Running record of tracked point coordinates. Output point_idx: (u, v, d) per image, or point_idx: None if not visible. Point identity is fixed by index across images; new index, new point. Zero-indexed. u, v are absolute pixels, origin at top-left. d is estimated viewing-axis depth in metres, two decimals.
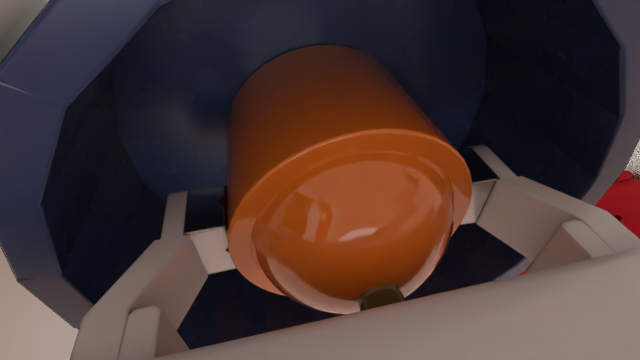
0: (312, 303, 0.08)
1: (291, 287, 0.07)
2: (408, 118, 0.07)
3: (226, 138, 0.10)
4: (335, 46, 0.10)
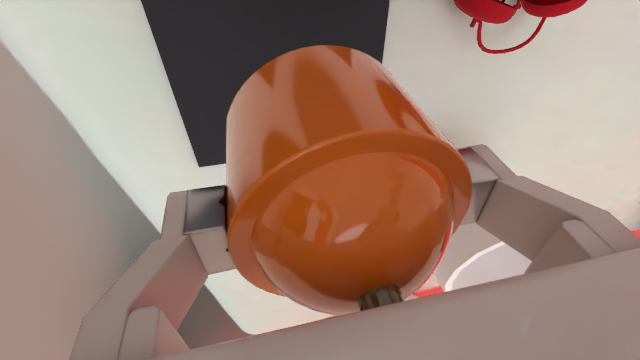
0: (312, 304, 0.08)
1: (291, 288, 0.07)
2: (408, 119, 0.07)
3: (226, 138, 0.10)
4: (335, 46, 0.10)
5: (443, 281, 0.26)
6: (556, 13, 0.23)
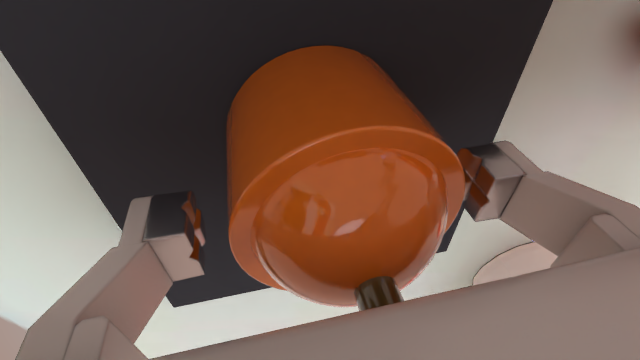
0: (310, 295, 0.08)
1: (290, 280, 0.08)
2: (402, 116, 0.07)
3: (227, 136, 0.10)
4: (332, 47, 0.10)
5: None
6: None
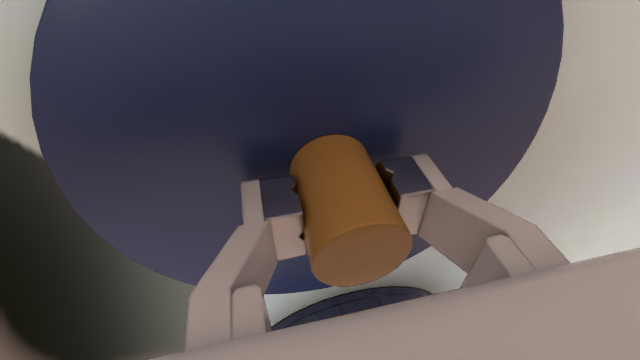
0: None
1: None
2: None
3: None
4: None
5: None
6: None
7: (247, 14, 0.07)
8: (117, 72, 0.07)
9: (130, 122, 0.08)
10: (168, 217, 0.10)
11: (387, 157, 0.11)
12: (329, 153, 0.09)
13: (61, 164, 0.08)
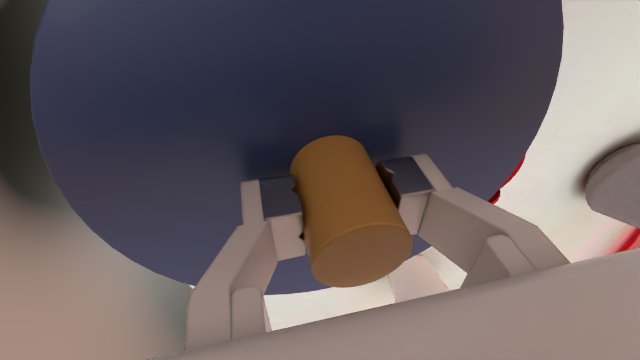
0: None
1: None
2: None
3: None
4: None
5: None
6: None
7: (247, 16, 0.07)
8: (117, 73, 0.07)
9: (130, 123, 0.08)
10: (168, 218, 0.10)
11: (387, 158, 0.11)
12: (329, 154, 0.09)
13: (61, 165, 0.08)
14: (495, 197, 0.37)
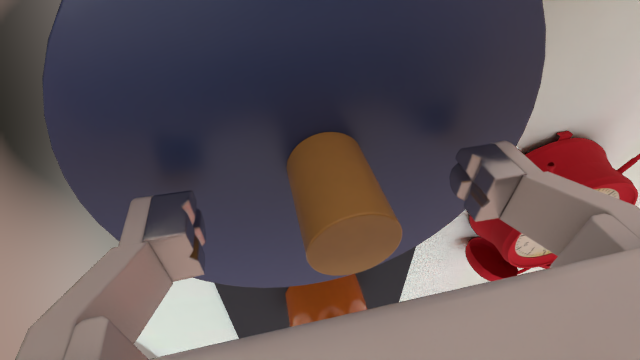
0: None
1: None
2: None
3: (287, 302, 0.26)
4: None
5: None
6: None
7: (245, 18, 0.08)
8: (124, 73, 0.08)
9: (135, 120, 0.09)
10: None
11: (380, 153, 0.11)
12: (324, 149, 0.10)
13: (70, 160, 0.09)
14: None
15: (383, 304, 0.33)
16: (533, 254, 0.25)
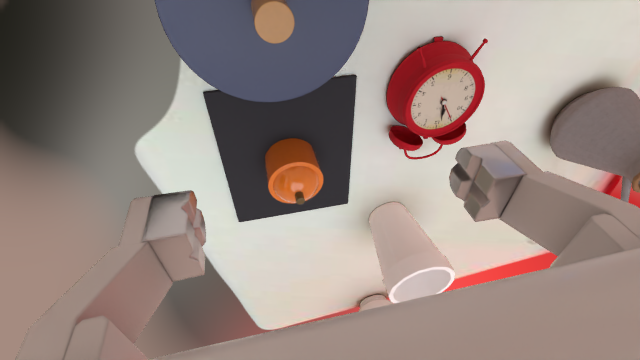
0: (285, 197, 0.37)
1: (281, 193, 0.36)
2: (304, 159, 0.36)
3: (265, 161, 0.39)
4: (293, 138, 0.39)
5: (388, 293, 0.44)
6: (445, 144, 0.40)
7: None
8: None
9: None
10: (197, 29, 0.24)
11: (295, 5, 0.24)
12: None
13: None
14: (462, 134, 0.41)
15: (337, 183, 0.46)
16: (428, 126, 0.38)
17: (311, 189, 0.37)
